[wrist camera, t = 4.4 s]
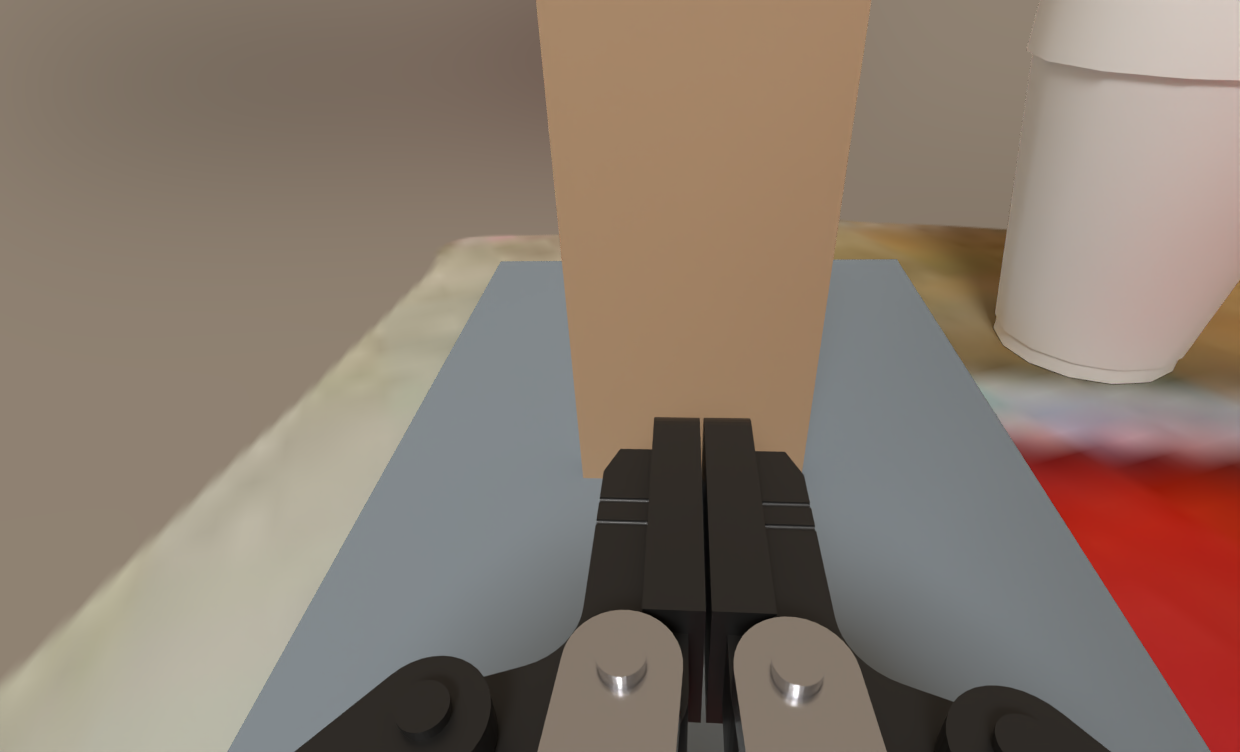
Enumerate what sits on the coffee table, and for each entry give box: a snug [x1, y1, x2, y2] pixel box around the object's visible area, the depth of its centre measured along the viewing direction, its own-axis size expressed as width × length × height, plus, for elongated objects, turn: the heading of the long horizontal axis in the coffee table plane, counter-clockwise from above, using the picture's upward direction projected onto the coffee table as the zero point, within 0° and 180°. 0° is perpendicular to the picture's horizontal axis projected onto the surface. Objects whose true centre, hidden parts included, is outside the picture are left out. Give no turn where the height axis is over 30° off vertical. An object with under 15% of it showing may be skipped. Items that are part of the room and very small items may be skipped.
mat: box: [228, 259, 1211, 752], centre depth 22 cm, size 20×28×1 cm
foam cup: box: [993, 0, 1240, 384], centre depth 23 cm, size 10×9×13 cm
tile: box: [536, 0, 871, 479], centre depth 17 cm, size 2×7×13 cm, turn 85°
